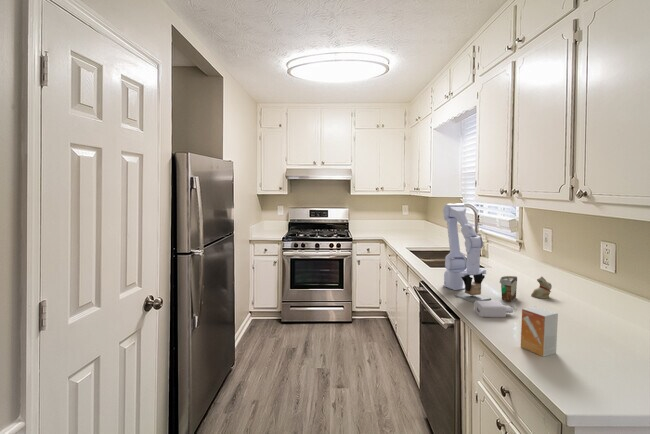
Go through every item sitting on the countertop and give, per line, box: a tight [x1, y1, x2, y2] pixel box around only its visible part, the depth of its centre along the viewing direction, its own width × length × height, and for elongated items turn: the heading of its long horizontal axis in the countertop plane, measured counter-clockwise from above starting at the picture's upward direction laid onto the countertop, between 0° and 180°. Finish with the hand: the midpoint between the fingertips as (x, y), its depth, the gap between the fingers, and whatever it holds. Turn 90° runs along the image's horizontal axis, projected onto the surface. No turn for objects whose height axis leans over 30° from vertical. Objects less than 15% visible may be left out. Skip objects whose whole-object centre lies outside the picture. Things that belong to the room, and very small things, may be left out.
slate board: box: [454, 292, 492, 303], centre depth 178 cm, size 12×11×1 cm
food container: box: [499, 275, 518, 303], centre depth 175 cm, size 12×6×10 cm, turn 141°
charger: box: [474, 300, 517, 318], centre depth 154 cm, size 5×9×15 cm
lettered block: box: [464, 281, 482, 296], centre depth 177 cm, size 5×5×5 cm
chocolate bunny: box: [530, 275, 553, 299], centre depth 178 cm, size 6×8×10 cm
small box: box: [520, 305, 559, 358], centre depth 119 cm, size 8×6×13 cm
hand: (472, 290), depth 178 cm, fingers closed on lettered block, 5 cm apart
